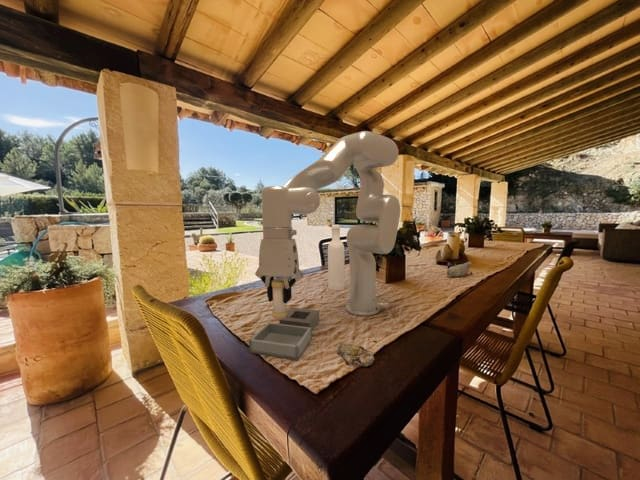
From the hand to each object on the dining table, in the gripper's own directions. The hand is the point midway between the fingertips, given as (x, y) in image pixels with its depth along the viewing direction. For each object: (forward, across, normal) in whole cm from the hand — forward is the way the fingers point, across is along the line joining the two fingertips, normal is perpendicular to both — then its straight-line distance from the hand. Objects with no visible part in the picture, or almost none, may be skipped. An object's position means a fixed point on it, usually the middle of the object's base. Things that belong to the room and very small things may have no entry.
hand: (279, 300), depth 70 cm
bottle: (+13, -4, -53) cm, 55 cm away
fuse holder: (+13, -1, -13) cm, 19 cm away
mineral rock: (+14, -21, 0) cm, 25 cm away
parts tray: (+13, 0, 0) cm, 13 cm away
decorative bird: (+12, -63, -88) cm, 109 cm away
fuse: (+4, 0, 0) cm, 4 cm away
